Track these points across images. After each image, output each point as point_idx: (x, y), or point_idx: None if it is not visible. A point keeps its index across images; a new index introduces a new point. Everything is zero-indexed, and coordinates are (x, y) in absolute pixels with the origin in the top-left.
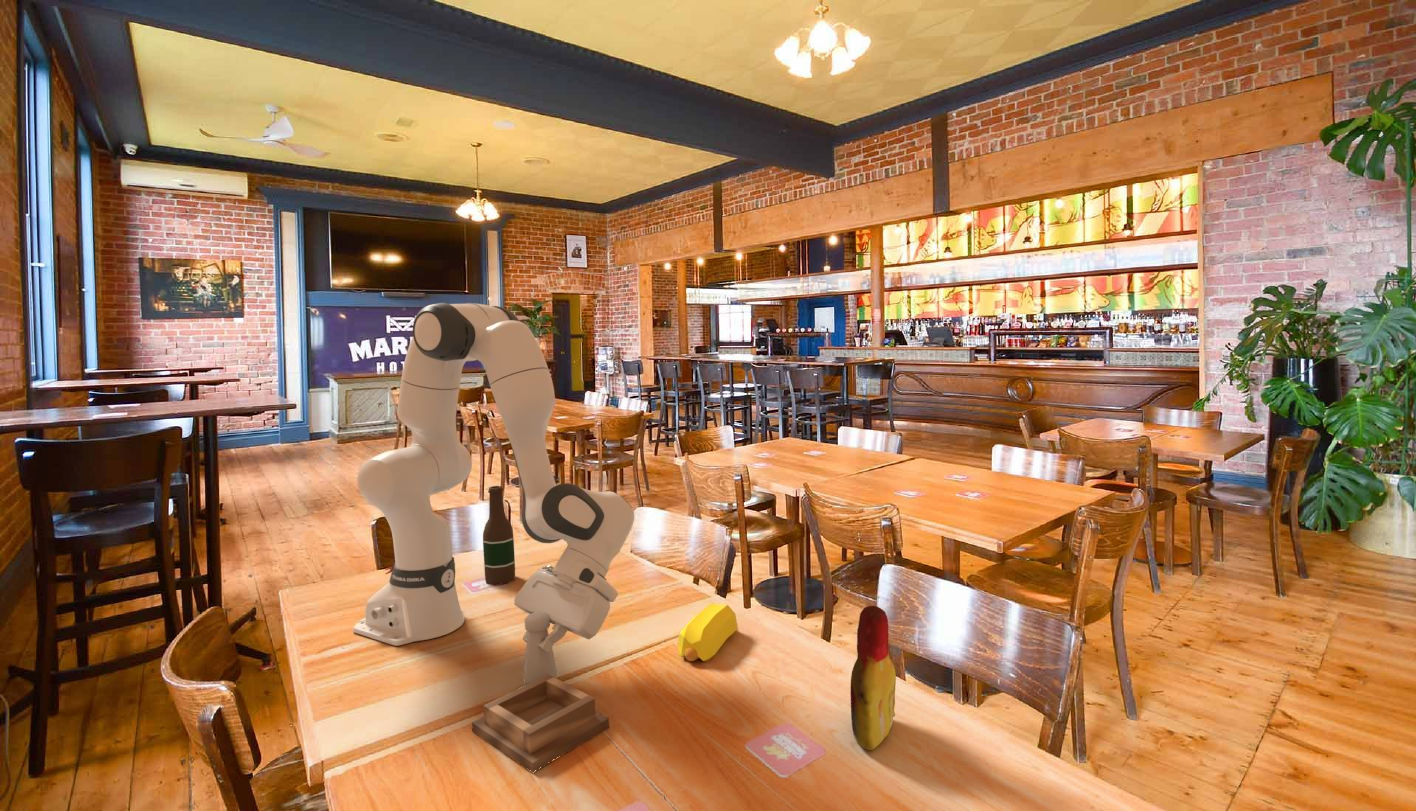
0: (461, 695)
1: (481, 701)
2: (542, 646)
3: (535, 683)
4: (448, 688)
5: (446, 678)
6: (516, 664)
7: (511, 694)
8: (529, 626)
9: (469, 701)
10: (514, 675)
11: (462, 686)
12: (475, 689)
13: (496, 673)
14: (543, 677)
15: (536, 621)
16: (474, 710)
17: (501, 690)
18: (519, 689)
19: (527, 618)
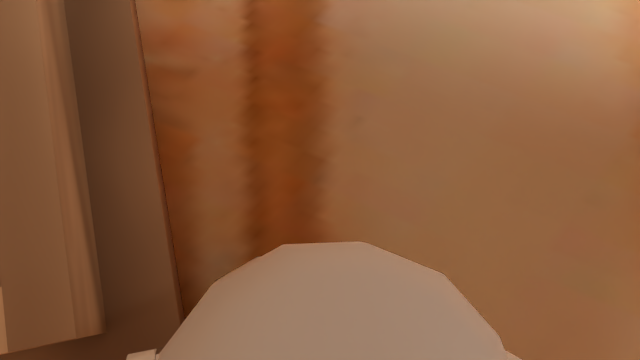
0: (448, 25)
1: (340, 69)
2: (136, 358)
3: (24, 215)
4: (543, 7)
5: (636, 32)
6: (591, 343)
7: (14, 47)
8: (250, 262)
9: (375, 31)
10: (482, 287)
11: (525, 57)
12: (463, 89)
13: (555, 223)
14: (60, 293)
15: (181, 356)
16: (285, 19)
17: (377, 177)
18: (31, 105)
19: (359, 273)
